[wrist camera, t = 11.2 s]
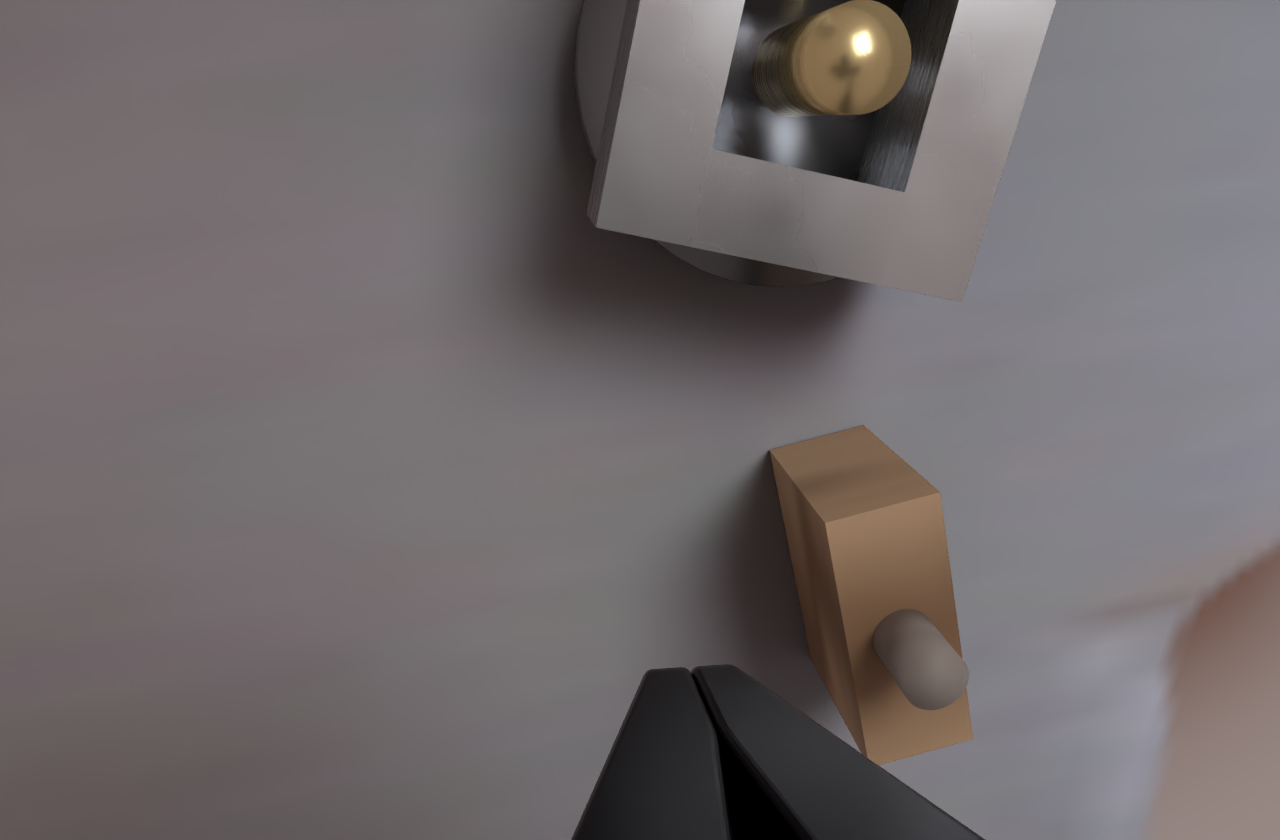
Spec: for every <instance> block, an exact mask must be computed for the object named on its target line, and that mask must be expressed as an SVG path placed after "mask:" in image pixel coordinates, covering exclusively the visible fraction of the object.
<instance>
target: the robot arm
mask: <svg viewBox="0 0 1280 840" xmlns="http://www.w3.org/2000/svg"><path fill="white" fill-rule="evenodd" d="M571 840H985V839H983V838H982V837H981V836H979V835H978V834H976V833H975V832H973V831H972V830H971V829H969V828H968V827H966V826H965V825H963V824H962V823H960V822H959V821H958V820H956V819H955V818H953V817H952V816H950V815H949V814H947V813H946V812H945V811H943V810H942V809H940V808H939V807H937V806H936V805H935V804H933V803H932V802H930V801H929V800H927V799H926V798H924V797H923V796H922V795H920V794H919V793H917V792H916V791H914V790H913V789H911V788H910V787H909V786H907V785H906V784H904V783H903V782H901V781H900V780H899V779H897V778H896V777H894V776H893V775H891V774H890V773H888V772H887V771H886V770H884V769H883V768H881V767H880V766H878V765H877V764H876V763H874V762H873V761H871V760H870V759H868V758H867V757H865V756H864V755H863V754H861V753H860V752H858V751H857V750H855V749H854V748H852V747H851V746H850V745H848V744H847V743H845V742H844V741H842V740H841V739H840V738H838V737H837V736H835V735H834V734H832V733H831V732H829V731H828V730H827V729H825V728H824V727H822V726H821V725H819V724H818V723H816V722H815V721H814V720H812V719H811V718H809V717H808V716H806V715H805V714H804V713H802V712H801V711H799V710H798V709H796V708H795V707H793V706H792V705H791V704H789V703H788V702H786V701H785V700H783V699H782V698H780V697H779V696H778V695H776V694H775V693H773V692H772V691H770V690H769V689H768V688H766V687H765V686H763V685H762V684H760V683H759V682H757V681H756V680H755V679H753V678H752V677H750V676H749V675H747V674H746V673H744V672H743V671H742V670H740V669H739V668H737V667H735V666H733V665H728V664H727V665H712V666H698V667H695V668H694V669H692V671H691V673H690V672H689V670H688V669H686V668H682V667H681V668H665V669H651V670H648V671H647V672H646V673H645V675H644V676H643V679H642V681H641V683H640V685H639V688H638V690H637V692H636V694H635V697H634V699H633V701H632V703H631V706H630V708H629V710H628V713H627V715H626V717H625V719H624V722H623V724H622V726H621V728H620V731H619V733H618V735H617V737H616V740H615V742H614V744H613V746H612V749H611V751H610V753H609V755H608V758H607V760H606V762H605V765H604V767H603V769H602V771H601V774H600V776H599V778H598V780H597V783H596V785H595V787H594V789H593V792H592V794H591V796H590V798H589V801H588V803H587V805H586V808H585V810H584V812H583V814H582V817H581V819H580V821H579V823H578V826H577V828H576V830H575V832H574V835H573V837H572V839H571Z"/></svg>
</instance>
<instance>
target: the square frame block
mask: <svg viewBox="0 0 1280 840" xmlns="http://www.w3.org/2000/svg"><path fill="white" fill-rule="evenodd" d="M744 2H745V0H627V4H626V9H625V15H624V20H623V25H622V30H621V35H620V41H619V46H618V51H617V56H616V62H615V67H614V72H613V77H612V83H611V88H610V93H609V98H608V104H607V109H606V114H605V119H604V125H603V130H602V135H601V140H600V145H599V151H598V156H597V161H596V166H595V172H594V177H593V182H592V187H591V193H590V198H589V203H588V208H587V216H588V217H589V219H590V220H591V221H592V223H593V224H594V226H595V227H596V228H600V229H605V230H610V231H615V232H620V233H625V234H630V235H635V236H640V237H644V238H649V239H654V240H659V241H664V242H669V243H674V244H679V245H684V246H689V247H694V248H698V249H703V250H708V251H713V252H718V253H723V254H728V255H733V256H738V257H743V258H748V259H753V260H757V261H762V262H767V263H772V264H777V265H782V266H787V267H792V268H797V269H802V270H807V271H811V272H816V273H821V274H826V275H831V276H836V277H841V278H846V279H851V280H856V281H861V282H865V283H870V284H875V285H880V286H885V287H890V288H895V289H900V290H905V291H910V292H915V293H919V294H924V295H929V296H934V297H939V298H944V299H949V300H954V301H959V302H962V301H963V298H964V295H965V292H966V289H967V285H968V282H969V279H970V276H971V272H972V269H973V266H974V263H975V260H976V256H977V253H978V250H979V247H980V244H981V240H982V237H983V234H984V231H985V227H986V224H987V221H988V218H989V215H990V211H991V208H992V205H993V202H994V199H995V195H996V192H997V189H998V186H999V182H1000V179H1001V176H1002V173H1003V170H1004V166H1005V163H1006V160H1007V157H1008V154H1009V150H1010V147H1011V144H1012V141H1013V137H1014V134H1015V131H1016V128H1017V125H1018V121H1019V118H1020V115H1021V112H1022V108H1023V105H1024V102H1025V99H1026V96H1027V92H1028V89H1029V86H1030V83H1031V80H1032V76H1033V73H1034V70H1035V67H1036V63H1037V60H1038V57H1039V54H1040V51H1041V47H1042V44H1043V41H1044V38H1045V35H1046V31H1047V28H1048V25H1049V22H1050V18H1051V15H1052V12H1053V9H1054V6H1055V2H1056V0H905V3H904V7H903V11H902V14H901V18H900V19H901V20H902V22H903V23H904V25H905V27H906V29H907V32H908V35H909V38H910V43H911V63H910V69H909V72H908V75H907V78H906V80H905V82H904V84H903V86H902V88H901V89H900V91H899V92H898V93H897V95H896V96H895V97H894V98H893V99H892V100H891V101H890V102H888V103H887V104H886V105H884V106H883V107H881V108H880V109H878V110H876V111H875V115H874V119H873V122H872V126H871V130H870V133H869V137H868V141H867V145H866V148H865V152H864V156H863V159H862V163H861V167H860V171H859V174H858V178H857V181H853V180H848V179H844V178H839V177H835V176H830V175H826V174H821V173H817V172H812V171H808V170H803V169H799V168H794V167H790V166H786V165H781V164H777V163H772V162H768V161H763V160H759V159H754V158H750V157H745V156H741V155H736V154H732V153H728V152H723V151H719V150H714V149H712V145H713V141H714V136H715V132H716V128H717V123H718V119H719V114H720V110H721V105H722V101H723V96H724V92H725V87H726V83H727V78H728V74H729V69H730V65H731V61H732V56H733V52H734V47H735V43H736V38H737V34H738V29H739V25H740V20H741V16H742V11H743V7H744Z"/></svg>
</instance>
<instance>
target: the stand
mask: <svg viewBox="0 0 1280 840" xmlns="http://www.w3.org/2000/svg"><path fill="white" fill-rule="evenodd" d="M770 455H771V460H772V465H773V470H774V475H775V480H776V485H777V491H778V496H779V501H780V506H781V511H782V516H783V521H784V526H785V531H786V536H787V541H788V546H789V551H790V556H791V561H792V566H793V571H794V576H795V581H796V587H797V592H798V597H799V602H800V607H801V612H802V617H803V622H804V627H805V632H806V637H807V642H808V647H809V652H810V657H811V660H812V662H813V664H814V666H815V668H816V670H817V671H818V673H819V675H820V677H821V679H822V681H823V683H824V684H825V686H826V688H827V690H828V692H829V694H830V696H831V697H832V699H833V701H834V703H835V705H836V707H837V709H838V710H839V712H840V714H841V716H842V718H843V720H844V721H845V723H846V725H847V727H848V729H849V731H850V733H851V734H852V736H853V738H854V740H855V742H856V744H857V746H858V747H859V749H860V751H861V753H862V754H863V755H864V756H865V757H867V758H868V759H870V760H871V761H873V762H874V763H876V764H877V765H881V764H885V763H889V762H892V761H896V760H899V759H903V758H906V757H910V756H914V755H917V754H921V753H924V752H928V751H931V750H935V749H938V748H942V747H946V746H949V745H953V744H956V743H960V742H963V741H967V740H971V739H973V734H972V727H971V719H970V712H969V704H968V697H967V690H966V686H967V683H968V676H969V675H968V668H967V666H966V664H965V662H964V661H963V660H962V652H961V645H960V637H959V630H958V623H957V615H956V608H955V600H954V593H953V585H952V578H951V570H950V563H949V556H948V548H947V541H946V533H945V526H944V518H943V511H942V503H941V496H940V492H939V491H938V490H937V489H936V488H935V487H933V486H932V485H931V484H930V483H929V482H928V481H927V480H925V479H924V478H923V477H922V476H921V475H920V474H919V473H917V472H916V471H915V470H914V469H913V468H912V467H911V466H910V465H908V464H907V463H906V462H905V461H904V460H903V459H902V458H900V457H899V456H898V455H897V454H896V453H895V452H894V451H892V450H891V449H890V448H889V447H888V446H887V445H886V444H884V443H883V442H882V441H881V440H880V439H879V438H878V437H877V436H875V435H874V434H873V433H872V432H871V431H870V430H869V429H867V428H866V427H865V426H864V425H862V426H859V427H855V428H851V429H847V430H843V431H840V432H836V433H832V434H828V435H824V436H821V437H817V438H813V439H809V440H805V441H802V442H798V443H794V444H790V445H787V446H783V447H779V448H775V449H771V450H770Z"/></svg>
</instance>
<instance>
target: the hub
mask: <svg viewBox="0 0 1280 840" xmlns="http://www.w3.org/2000/svg"><path fill="white" fill-rule="evenodd" d="M904 3H905V0H745V2H744V7H743V11H742V16H741V20H740V25H739V29H738V34H737V38H736V43H735V47H734V52H733V56H732V61H731V65H730V69H729V74H728V78H727V83H726V87H725V92H724V96H723V101H722V105H721V110H720V114H719V119H718V123H717V128H716V132H715V136H714V141H713V145H712V149H714V150H719V151H723V152H728V153H732V154H736V155H741V156H745V157H750V158H754V159H759V160H763V161H768V162H772V163H777V164H781V165H786V166H790V167H794V168H799V169H803V170H808V171H812V172H817V173H821V174H826V175H830V176H835V177H839V178H844V179H848V180H853V181H857V178H858V174H859V171H860V167H861V163H862V159H863V156H864V152H865V148H866V145H867V141H868V137H869V133H870V130H871V126H872V122H873V119H874V115H875V111H876V110H878V109H880V108H881V107H883V106H884V105H886V104H887V103H888V102H890V101H891V100H892V99H893V98H894V97H895V96H896V95H897V93H898V92H899V91H900V89H901V88H902V86H903V84H904V82H905V80H906V78H907V75H908V72H909V69H910V63H911V43H910V38H909V35H908V32H907V29H906V27H905V25H904V23H903V22H902V20H901V19H900V18H901V14H902V11H903V7H904ZM626 4H627V0H584V3H583V6H582V10H581V15H580V20H579V25H578V31H577V36H576V47H575V61H574V73H575V92H576V100H577V106H578V111H579V117H580V123H581V126H582V129H583V133H584V136H585V139H586V142H587V146H588V149H589V151H590V154H591V156H592V158H593V160H594V162H595V165H596V161H597V156H598V151H599V145H600V140H601V135H602V130H603V125H604V119H605V114H606V109H607V104H608V98H609V93H610V88H611V83H612V77H613V72H614V67H615V62H616V56H617V51H618V46H619V41H620V35H621V30H622V25H623V20H624V15H625V9H626ZM655 241H656V242H657V243H659V244H660V245H662V246H663V247H664V248H666V249H667V250H669V251H670V252H671V253H673V254H674V255H675V256H677V257H678V258H680V259H682V260H684V261H686V262H687V263H689V264H691V265H693V266H695V267H697V268H699V269H701V270H703V271H705V272H708V273H711V274H713V275H716V276H719V277H722V278H724V279H727V280H732V281H737V282H741V283H746V284H750V285H760V286H773V287H785V286H803V285H808V284H814V283H819V282H824V281H829V280H832V279H835V278H838V277H836V276H831V275H826V274H821V273H816V272H811V271H807V270H802V269H797V268H792V267H787V266H782V265H777V264H772V263H767V262H762V261H757V260H753V259H748V258H743V257H738V256H733V255H728V254H723V253H718V252H713V251H708V250H703V249H698V248H694V247H689V246H684V245H679V244H674V243H669V242H664V241H659V240H655Z"/></svg>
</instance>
